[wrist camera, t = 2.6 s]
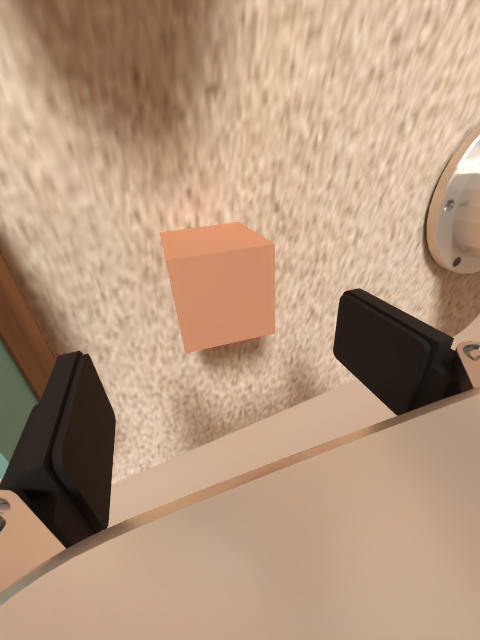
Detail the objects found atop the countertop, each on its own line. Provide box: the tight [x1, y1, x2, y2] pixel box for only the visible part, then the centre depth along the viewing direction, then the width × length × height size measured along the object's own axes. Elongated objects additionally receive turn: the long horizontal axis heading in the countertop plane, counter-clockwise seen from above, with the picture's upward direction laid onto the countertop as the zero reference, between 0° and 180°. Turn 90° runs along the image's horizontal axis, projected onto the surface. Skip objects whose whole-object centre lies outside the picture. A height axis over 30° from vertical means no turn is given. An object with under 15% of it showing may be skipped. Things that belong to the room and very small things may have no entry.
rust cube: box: [160, 222, 275, 353], centre depth 16 cm, size 5×5×6 cm
